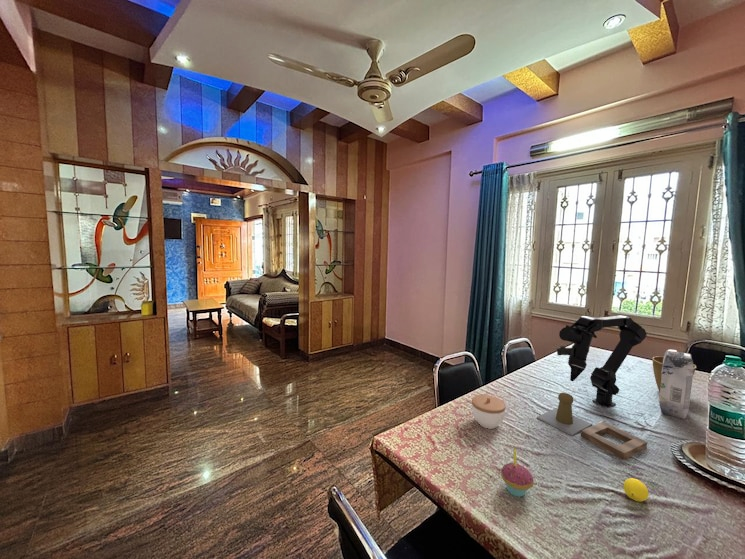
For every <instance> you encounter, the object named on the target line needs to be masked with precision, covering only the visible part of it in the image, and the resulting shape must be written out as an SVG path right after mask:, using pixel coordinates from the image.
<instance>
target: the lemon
mask: <svg viewBox="0 0 745 559" xmlns="http://www.w3.org/2000/svg"><path fill="white" fill-rule="evenodd" d="M622 487H623V491H624V493H625V494H626V495H627V497H628V498H629V499H632V500H634V501H635V502H644V501H646V500H647V499H648V498H649V496H650V494H649V490H648V487H647V486H646V484H645V483H644V482H642V481H640V480H639V479H637V478H633V477H631V478H627V479H626V480H624V481H623V486H622Z"/></svg>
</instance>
